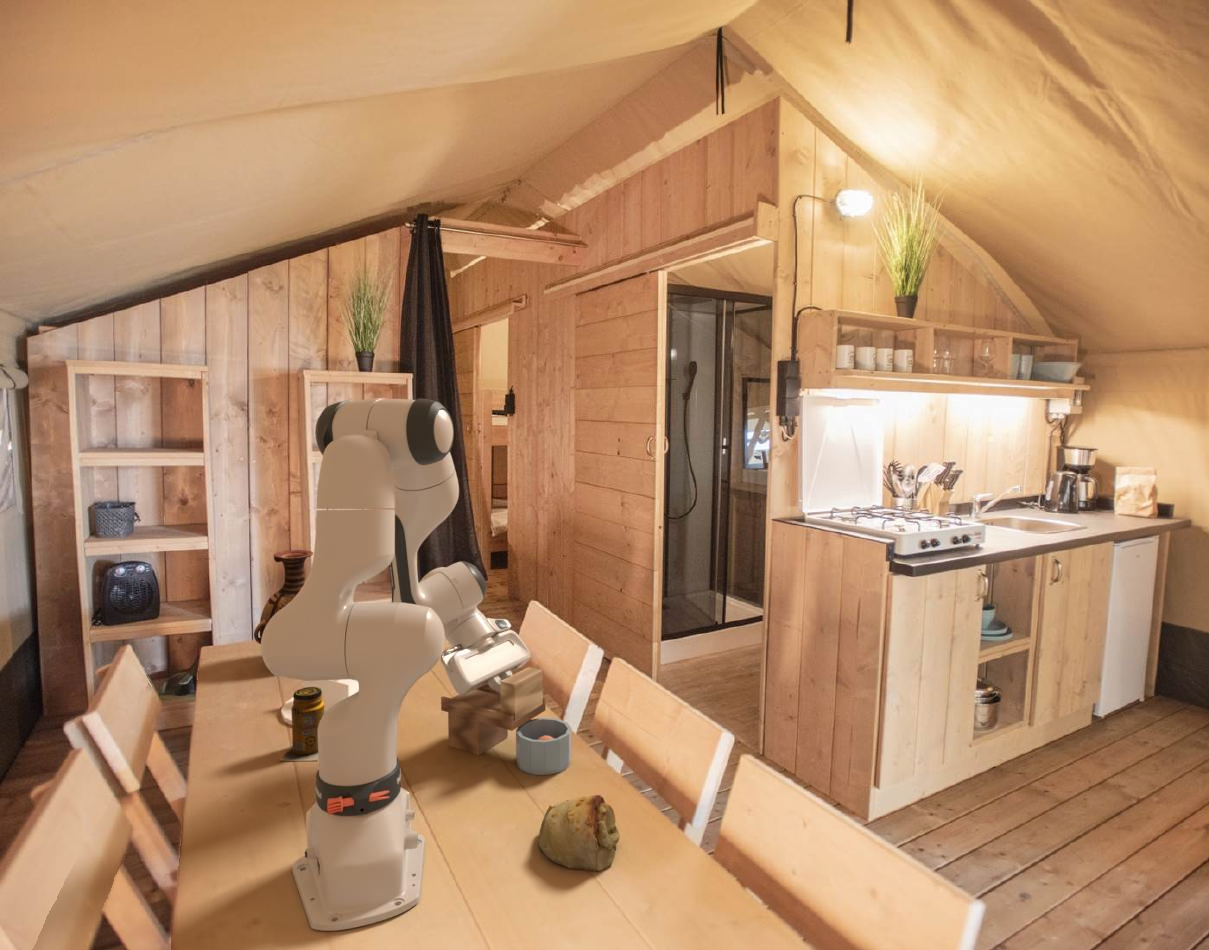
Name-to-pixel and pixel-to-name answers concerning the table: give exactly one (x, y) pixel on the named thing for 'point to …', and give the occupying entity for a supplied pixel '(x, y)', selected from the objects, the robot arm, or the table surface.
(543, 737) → the ball
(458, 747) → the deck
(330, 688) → the dish
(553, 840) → the pastry
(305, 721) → the condiment
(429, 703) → the table surface
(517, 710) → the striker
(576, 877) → the table surface
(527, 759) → the cup
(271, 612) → the vase
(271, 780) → the table surface
